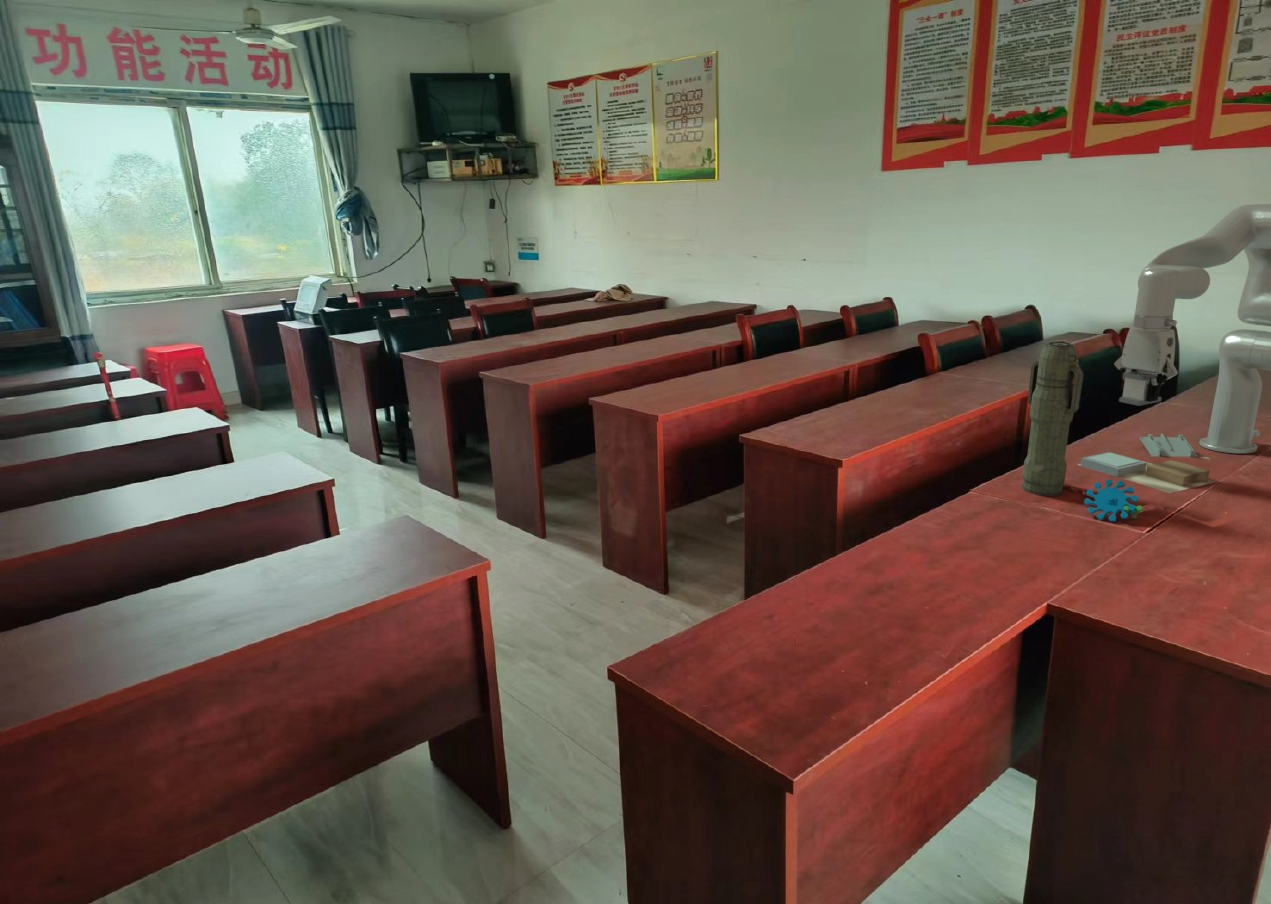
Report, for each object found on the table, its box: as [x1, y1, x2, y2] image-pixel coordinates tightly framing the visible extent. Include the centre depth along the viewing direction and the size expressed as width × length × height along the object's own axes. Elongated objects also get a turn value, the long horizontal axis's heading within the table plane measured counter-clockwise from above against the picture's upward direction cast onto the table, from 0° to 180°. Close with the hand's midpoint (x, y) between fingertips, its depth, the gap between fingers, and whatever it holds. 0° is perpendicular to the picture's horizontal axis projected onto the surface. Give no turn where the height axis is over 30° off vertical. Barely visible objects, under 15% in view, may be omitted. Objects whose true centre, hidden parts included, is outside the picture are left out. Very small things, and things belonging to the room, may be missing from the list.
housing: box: [1118, 370, 1167, 407], centre depth 190 cm, size 8×5×7 cm, turn 115°
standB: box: [1080, 451, 1147, 478], centre depth 198 cm, size 10×10×2 cm
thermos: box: [1021, 341, 1084, 497], centre depth 184 cm, size 9×12×35 cm
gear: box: [1083, 478, 1143, 523], centre depth 172 cm, size 11×6×10 cm
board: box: [1077, 454, 1216, 494], centre depth 195 cm, size 16×24×1 cm, turn 23°
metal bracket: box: [1139, 432, 1211, 461], centre depth 209 cm, size 14×6×15 cm
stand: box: [1145, 459, 1211, 487], centre depth 190 cm, size 9×9×2 cm
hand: (1140, 397), depth 191 cm, fingers closed on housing, 5 cm apart
